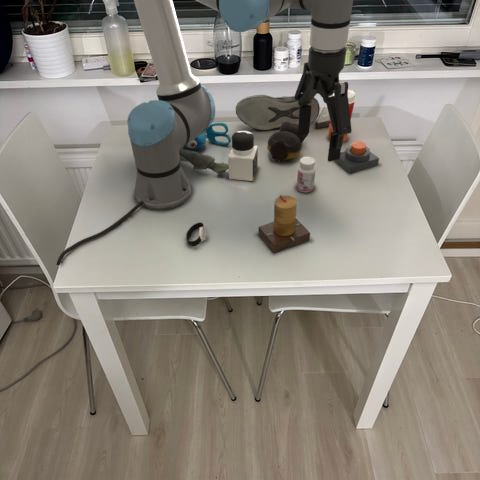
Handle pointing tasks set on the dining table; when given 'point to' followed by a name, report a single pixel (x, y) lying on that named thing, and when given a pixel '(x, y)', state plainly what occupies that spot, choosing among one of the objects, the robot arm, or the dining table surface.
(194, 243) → the watch
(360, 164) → the button box
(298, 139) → the figurine
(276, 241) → the panel
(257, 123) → the shoe
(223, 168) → the statue
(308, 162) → the pill bottle
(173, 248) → the dining table surface
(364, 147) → the button
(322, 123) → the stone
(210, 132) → the scissors
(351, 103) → the paper cup
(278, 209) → the lock knob
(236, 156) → the medicine bottle
